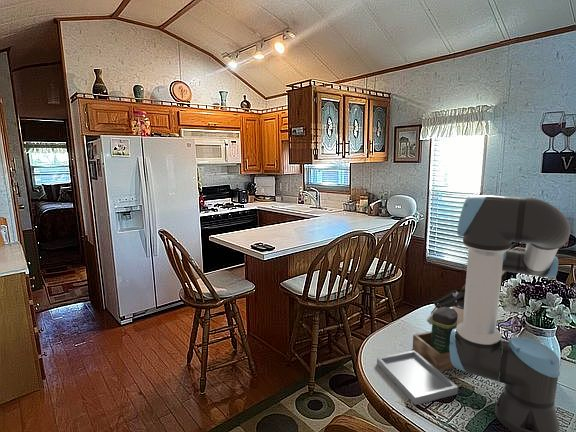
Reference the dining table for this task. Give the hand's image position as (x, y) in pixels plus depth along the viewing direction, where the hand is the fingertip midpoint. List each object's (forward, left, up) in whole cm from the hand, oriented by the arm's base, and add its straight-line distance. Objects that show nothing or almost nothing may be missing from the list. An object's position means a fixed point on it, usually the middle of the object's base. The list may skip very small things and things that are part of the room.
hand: (440, 331), depth 131 cm
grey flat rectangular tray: (-8, +17, -10) cm, 21 cm away
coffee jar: (0, -1, -10) cm, 11 cm away
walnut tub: (0, -1, -10) cm, 10 cm away
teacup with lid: (+20, -29, -10) cm, 37 cm away
